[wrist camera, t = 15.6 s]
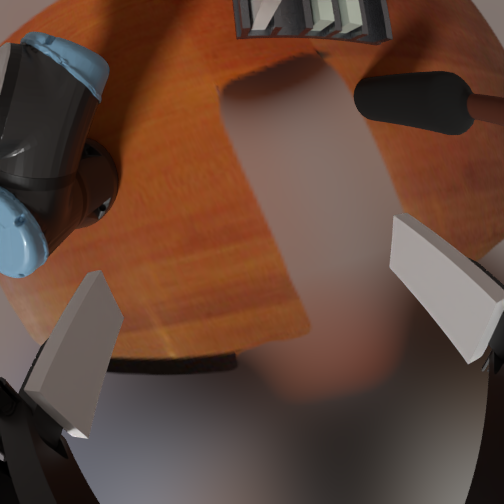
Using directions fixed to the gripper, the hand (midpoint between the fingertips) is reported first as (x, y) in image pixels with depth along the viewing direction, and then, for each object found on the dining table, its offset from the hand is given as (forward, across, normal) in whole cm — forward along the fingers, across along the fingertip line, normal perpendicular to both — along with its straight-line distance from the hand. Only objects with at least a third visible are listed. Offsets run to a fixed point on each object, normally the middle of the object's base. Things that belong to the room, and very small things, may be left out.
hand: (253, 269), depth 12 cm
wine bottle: (+34, -25, -6) cm, 43 cm away
